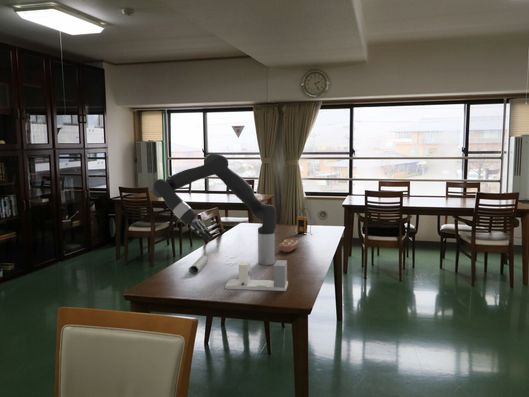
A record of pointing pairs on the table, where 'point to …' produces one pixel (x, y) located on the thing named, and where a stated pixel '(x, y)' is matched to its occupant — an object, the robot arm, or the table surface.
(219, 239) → the table surface
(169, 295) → the table surface
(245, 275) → the block
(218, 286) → the table surface
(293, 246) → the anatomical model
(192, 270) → the tube
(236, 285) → the base
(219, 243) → the table surface
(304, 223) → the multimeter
